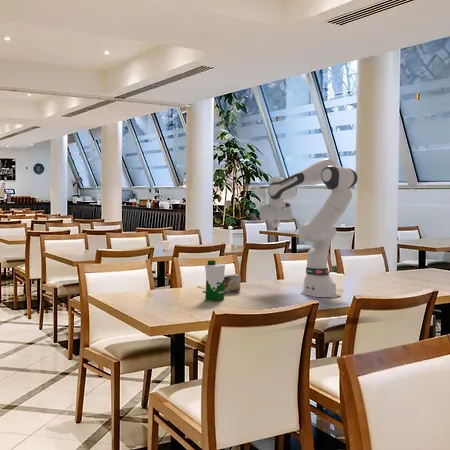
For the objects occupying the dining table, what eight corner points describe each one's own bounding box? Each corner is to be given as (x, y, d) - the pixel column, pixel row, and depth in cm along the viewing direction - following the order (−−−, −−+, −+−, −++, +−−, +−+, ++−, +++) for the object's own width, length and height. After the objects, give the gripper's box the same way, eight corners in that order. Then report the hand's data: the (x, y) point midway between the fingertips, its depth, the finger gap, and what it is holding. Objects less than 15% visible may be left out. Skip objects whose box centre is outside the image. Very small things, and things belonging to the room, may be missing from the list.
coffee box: (235, 273, 326) (209, 275, 319) (240, 275, 321) (215, 277, 313) (234, 289, 327) (209, 291, 319) (240, 291, 321) (215, 293, 314)
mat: (239, 292, 320) (239, 292, 320) (208, 294, 313) (208, 294, 313) (231, 289, 329) (231, 289, 329) (202, 291, 322) (202, 291, 322)
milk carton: (212, 297, 305) (212, 259, 304) (226, 299, 300) (227, 260, 299) (202, 300, 298) (203, 261, 296) (217, 302, 293) (217, 262, 292)
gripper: (262, 204, 339) (262, 227, 340) (293, 204, 347) (293, 227, 348) (258, 203, 345) (257, 227, 346) (288, 203, 353) (288, 226, 354)
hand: (275, 227), depth 347 cm, fingers closed
